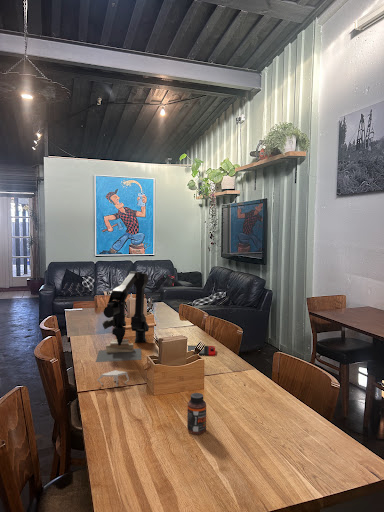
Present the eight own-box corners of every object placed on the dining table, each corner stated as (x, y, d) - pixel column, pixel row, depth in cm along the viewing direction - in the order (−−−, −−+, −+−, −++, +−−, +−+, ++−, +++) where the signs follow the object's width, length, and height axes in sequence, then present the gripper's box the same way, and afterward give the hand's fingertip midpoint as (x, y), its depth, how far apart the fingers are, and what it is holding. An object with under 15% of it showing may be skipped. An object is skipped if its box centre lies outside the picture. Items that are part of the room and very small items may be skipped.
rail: (106, 351, 194) (106, 344, 194) (133, 350, 197) (133, 343, 196) (106, 353, 191) (106, 346, 191) (133, 352, 194) (133, 344, 193)
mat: (99, 351, 195) (99, 350, 195) (140, 349, 199) (140, 348, 199) (95, 362, 178) (95, 362, 178) (141, 360, 181) (141, 359, 181)
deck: (111, 344, 193) (111, 339, 193) (128, 343, 195) (128, 339, 195) (110, 347, 187) (110, 343, 187) (128, 346, 189) (128, 342, 189)
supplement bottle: (200, 437, 112) (200, 401, 112) (183, 431, 115) (183, 396, 115) (209, 428, 117) (209, 393, 117) (193, 423, 120) (193, 389, 120)
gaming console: (157, 352, 189) (160, 343, 198) (158, 360, 189) (160, 351, 199) (215, 352, 187) (215, 343, 197) (215, 359, 188) (215, 350, 198)
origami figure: (123, 378, 159) (123, 366, 159) (129, 385, 152) (129, 373, 151) (95, 383, 153) (95, 372, 153) (100, 391, 146) (100, 378, 145)
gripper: (104, 310, 198) (105, 339, 199) (101, 318, 180) (102, 349, 181) (125, 309, 200) (126, 338, 201) (124, 317, 181) (125, 348, 182)
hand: (119, 343), depth 191 cm, fingers closed on deck, 6 cm apart
